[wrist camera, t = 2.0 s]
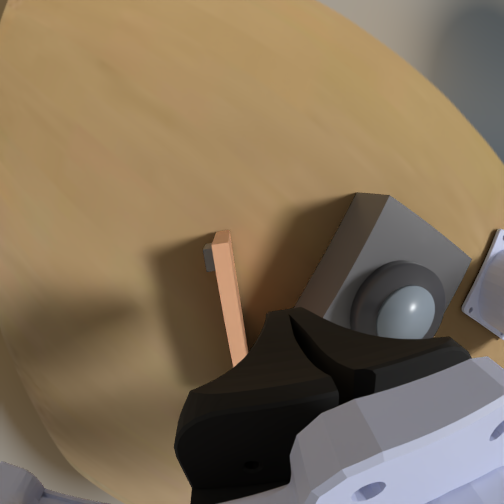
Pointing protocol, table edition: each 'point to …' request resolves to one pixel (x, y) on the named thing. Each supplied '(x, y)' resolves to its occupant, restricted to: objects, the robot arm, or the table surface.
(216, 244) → the side door
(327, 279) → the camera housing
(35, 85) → the table surface
